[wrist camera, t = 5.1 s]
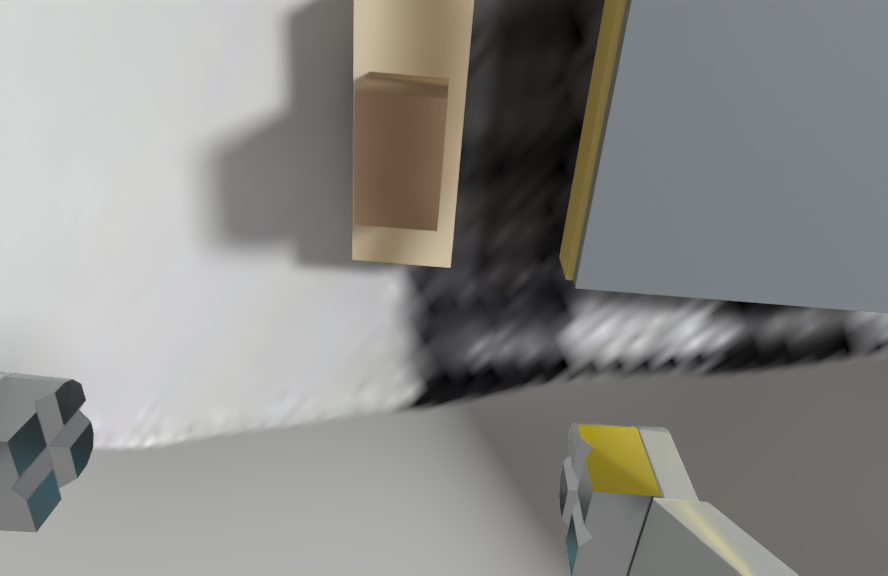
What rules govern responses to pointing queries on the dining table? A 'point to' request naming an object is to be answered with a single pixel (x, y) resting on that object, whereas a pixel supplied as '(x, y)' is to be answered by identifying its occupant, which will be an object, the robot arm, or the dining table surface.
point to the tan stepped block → (447, 55)
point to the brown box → (399, 150)
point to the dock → (735, 154)
